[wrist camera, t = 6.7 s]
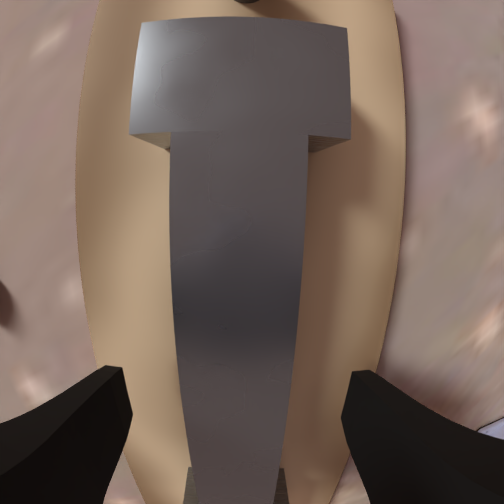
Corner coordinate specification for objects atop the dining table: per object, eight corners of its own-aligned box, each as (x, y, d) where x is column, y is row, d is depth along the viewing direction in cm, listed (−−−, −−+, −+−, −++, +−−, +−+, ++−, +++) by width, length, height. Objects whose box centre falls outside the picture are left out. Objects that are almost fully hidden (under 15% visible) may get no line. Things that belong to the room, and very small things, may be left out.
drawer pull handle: (315, 71, 9) (347, 28, 6) (279, 494, 14) (284, 540, 10) (170, 67, 9) (141, 22, 6) (193, 493, 14) (188, 539, 10)
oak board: (376, -3, 10) (418, -52, 5) (316, 507, 17) (326, 552, 12) (118, -11, 9) (82, -62, 5) (157, 506, 16) (148, 551, 12)
